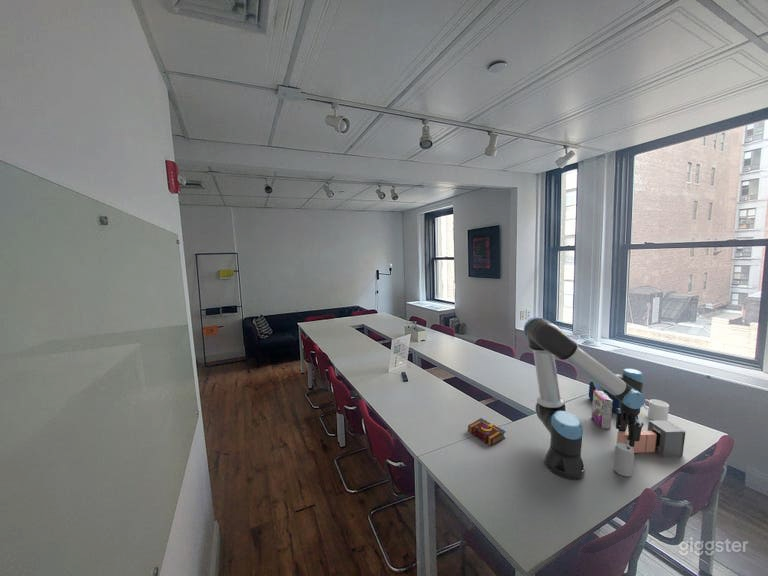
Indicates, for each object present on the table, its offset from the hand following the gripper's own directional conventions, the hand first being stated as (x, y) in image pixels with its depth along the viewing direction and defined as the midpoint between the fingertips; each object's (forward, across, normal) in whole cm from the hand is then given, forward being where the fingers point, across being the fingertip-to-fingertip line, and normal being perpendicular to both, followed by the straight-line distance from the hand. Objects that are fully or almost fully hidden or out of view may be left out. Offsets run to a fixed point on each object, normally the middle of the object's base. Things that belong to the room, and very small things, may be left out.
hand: (625, 448), depth 143 cm
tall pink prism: (+1, 0, -5) cm, 5 cm away
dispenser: (+1, 0, -18) cm, 19 cm away
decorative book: (+2, +15, +62) cm, 64 cm away
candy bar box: (+2, +23, -5) cm, 24 cm away
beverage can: (+2, -13, +12) cm, 18 cm away
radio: (+2, +40, -21) cm, 45 cm away
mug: (+2, +27, -38) cm, 47 cm away
